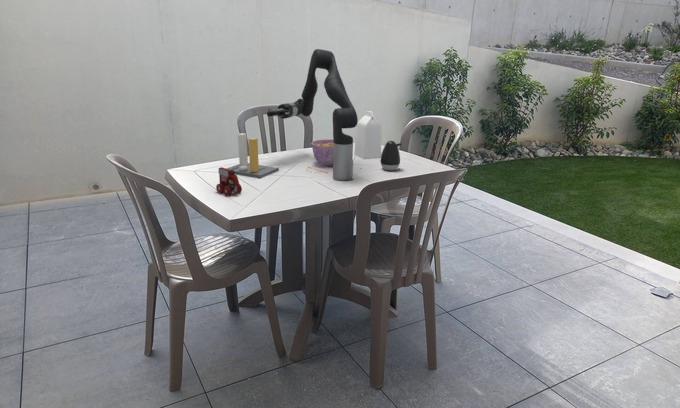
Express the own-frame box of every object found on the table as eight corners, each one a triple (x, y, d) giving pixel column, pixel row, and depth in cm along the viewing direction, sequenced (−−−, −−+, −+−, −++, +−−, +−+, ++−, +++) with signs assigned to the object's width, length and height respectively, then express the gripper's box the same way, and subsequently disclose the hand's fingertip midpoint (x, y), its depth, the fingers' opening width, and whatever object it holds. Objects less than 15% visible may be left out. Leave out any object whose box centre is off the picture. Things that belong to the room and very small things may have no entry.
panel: (278, 170, 221) (278, 167, 220) (259, 178, 207) (259, 175, 207) (243, 165, 230) (243, 162, 229) (223, 172, 216) (223, 169, 216)
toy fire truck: (231, 197, 180) (230, 173, 177) (214, 191, 188) (212, 168, 184) (245, 194, 185) (243, 170, 182) (227, 188, 193) (225, 165, 189)
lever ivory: (248, 164, 224) (246, 133, 219) (244, 166, 222) (242, 134, 216) (243, 164, 225) (241, 133, 220) (239, 165, 223) (237, 134, 217)
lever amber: (258, 170, 213) (257, 138, 208) (255, 172, 211) (253, 139, 205) (253, 170, 214) (252, 137, 209) (250, 171, 212) (248, 138, 207)
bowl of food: (349, 160, 244) (350, 140, 240) (346, 169, 225) (347, 147, 221) (314, 159, 246) (314, 138, 242) (308, 168, 227) (308, 146, 223)
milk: (354, 154, 258) (355, 110, 249) (371, 153, 262) (373, 109, 254) (363, 159, 247) (365, 113, 239) (381, 157, 252) (383, 112, 243)
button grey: (249, 170, 215) (249, 166, 215) (244, 172, 212) (243, 168, 211) (242, 169, 217) (242, 165, 216) (237, 171, 213) (237, 167, 213)
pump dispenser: (397, 173, 221) (399, 143, 216) (377, 170, 224) (379, 141, 219) (401, 168, 230) (403, 139, 225) (382, 166, 233) (383, 138, 228)
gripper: (276, 102, 232) (257, 105, 217) (298, 104, 226) (279, 107, 211) (277, 116, 234) (257, 120, 219) (298, 118, 229) (279, 123, 214)
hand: (268, 114), depth 215 cm, fingers closed
